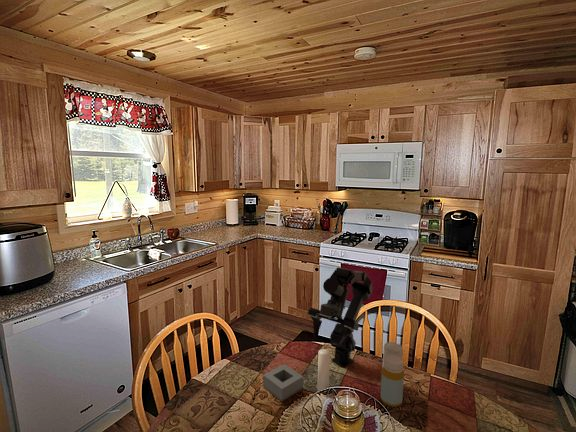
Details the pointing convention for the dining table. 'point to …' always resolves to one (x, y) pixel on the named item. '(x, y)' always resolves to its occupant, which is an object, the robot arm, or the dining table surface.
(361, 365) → the dining table surface
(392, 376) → the bottle
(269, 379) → the hole block
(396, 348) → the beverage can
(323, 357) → the peg
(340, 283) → the robot arm
